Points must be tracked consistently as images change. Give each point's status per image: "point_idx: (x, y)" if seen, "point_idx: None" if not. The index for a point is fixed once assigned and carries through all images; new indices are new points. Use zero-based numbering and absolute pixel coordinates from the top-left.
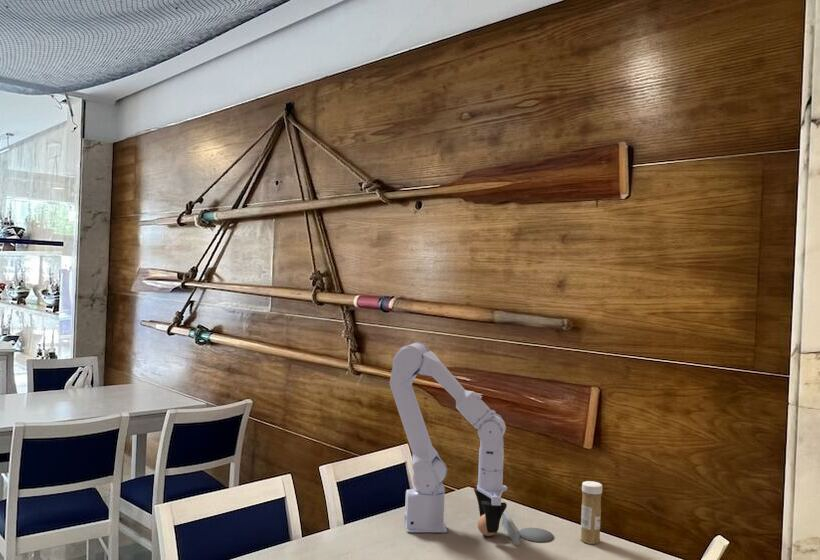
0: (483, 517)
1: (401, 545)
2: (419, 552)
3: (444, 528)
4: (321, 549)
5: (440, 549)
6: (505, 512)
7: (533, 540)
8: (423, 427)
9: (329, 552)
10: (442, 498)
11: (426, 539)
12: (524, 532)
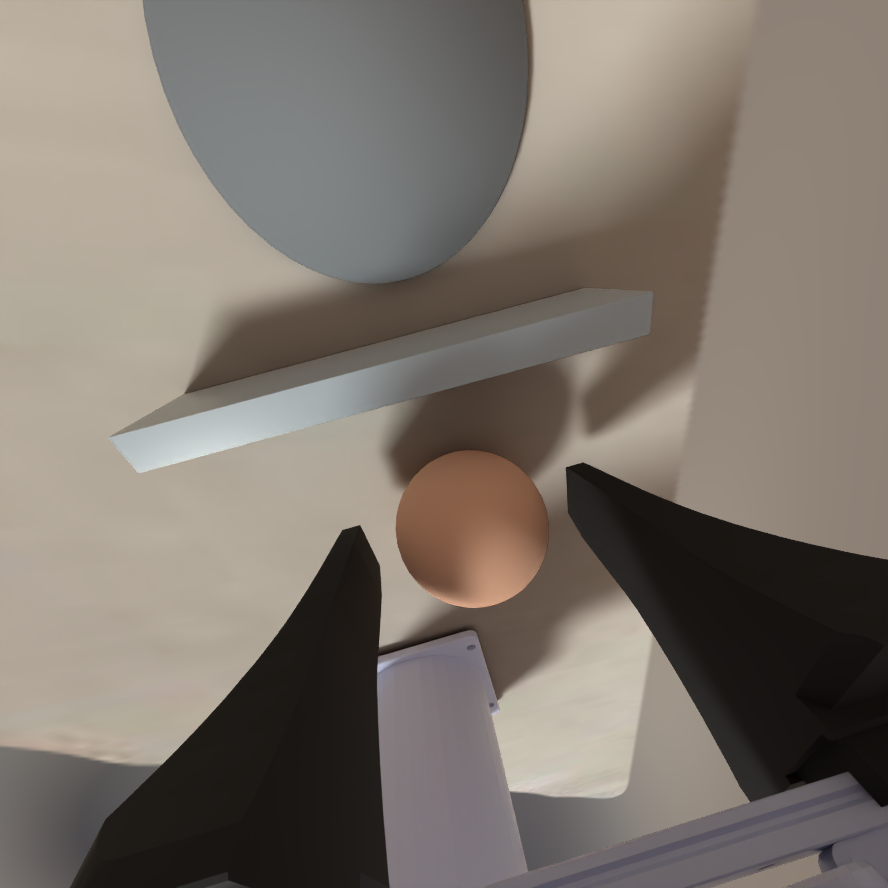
0: (515, 594)
1: (591, 686)
2: (644, 644)
3: (452, 647)
4: (612, 764)
5: (625, 608)
6: (154, 441)
7: (519, 139)
8: None
9: (628, 753)
10: (482, 861)
11: (541, 655)
12: (350, 226)
